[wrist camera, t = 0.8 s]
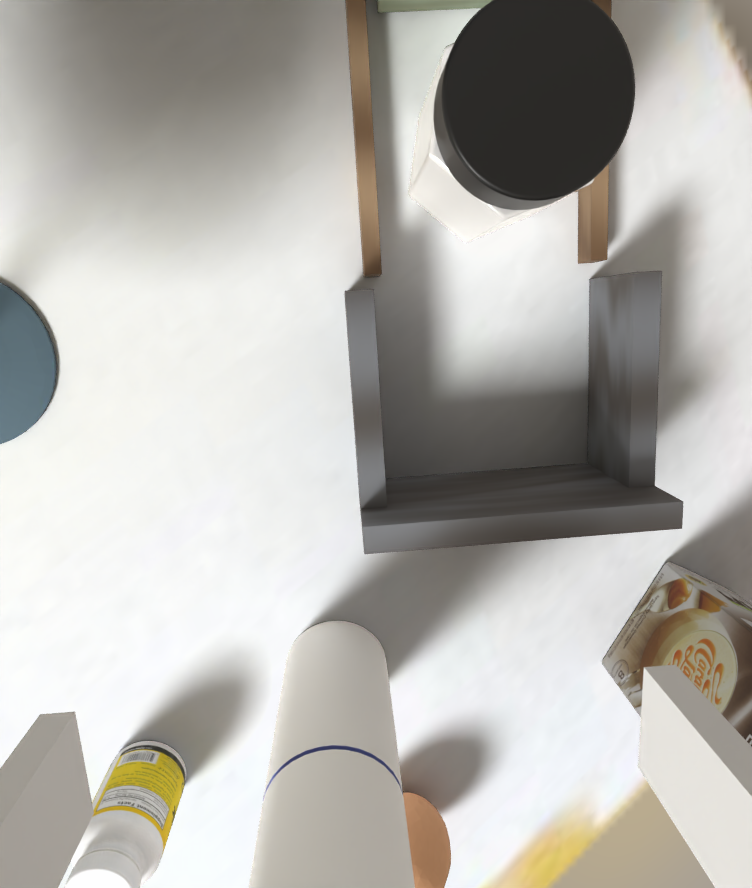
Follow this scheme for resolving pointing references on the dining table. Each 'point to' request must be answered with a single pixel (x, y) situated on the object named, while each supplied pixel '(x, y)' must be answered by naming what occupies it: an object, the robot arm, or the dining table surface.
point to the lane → (525, 489)
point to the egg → (427, 842)
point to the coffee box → (690, 643)
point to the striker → (427, 5)
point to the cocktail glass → (23, 365)
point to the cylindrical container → (334, 770)
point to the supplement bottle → (130, 818)
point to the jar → (520, 113)
